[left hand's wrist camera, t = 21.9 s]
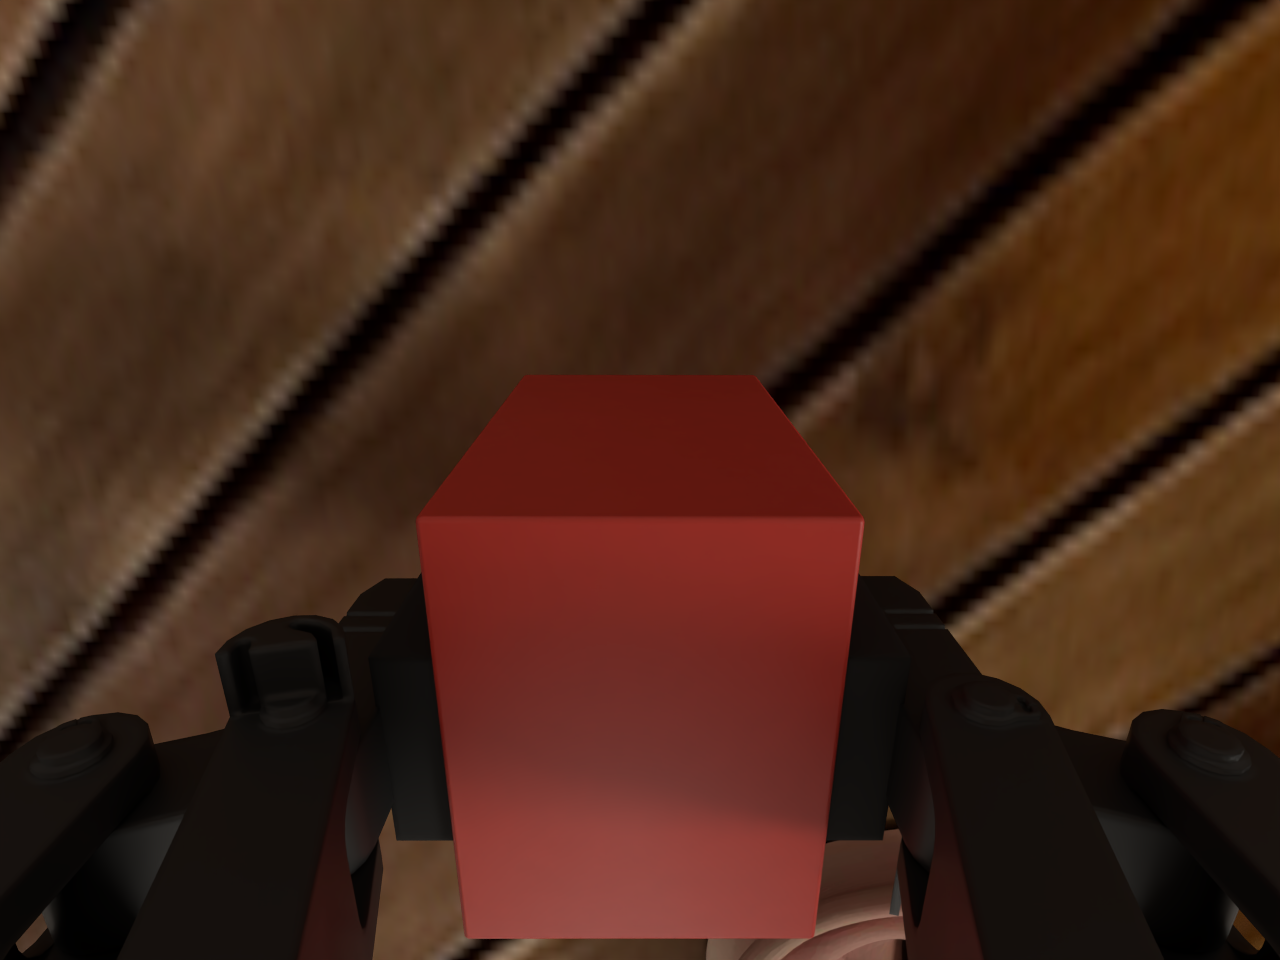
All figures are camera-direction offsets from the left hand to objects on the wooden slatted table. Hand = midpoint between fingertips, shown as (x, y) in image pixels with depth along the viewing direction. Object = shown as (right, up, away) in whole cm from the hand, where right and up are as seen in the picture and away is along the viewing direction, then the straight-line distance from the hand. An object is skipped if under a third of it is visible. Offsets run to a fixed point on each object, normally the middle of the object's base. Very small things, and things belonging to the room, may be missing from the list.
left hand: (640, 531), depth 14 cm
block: (0, 0, +1) cm, 1 cm away
